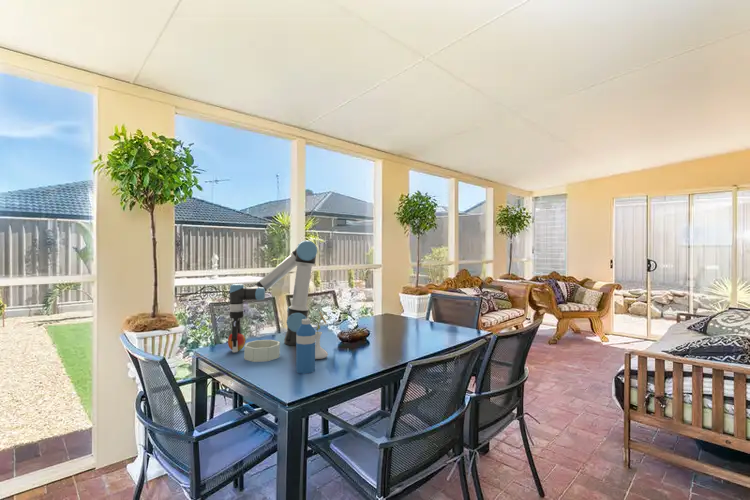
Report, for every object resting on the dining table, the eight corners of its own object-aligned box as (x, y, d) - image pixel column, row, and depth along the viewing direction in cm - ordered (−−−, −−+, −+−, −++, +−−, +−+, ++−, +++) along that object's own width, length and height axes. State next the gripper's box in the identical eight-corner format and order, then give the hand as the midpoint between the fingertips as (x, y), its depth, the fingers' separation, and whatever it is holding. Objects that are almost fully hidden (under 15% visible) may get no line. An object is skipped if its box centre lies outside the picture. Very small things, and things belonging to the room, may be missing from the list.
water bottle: (313, 373, 180) (313, 321, 180) (293, 373, 181) (294, 321, 180) (316, 367, 190) (317, 318, 190) (298, 367, 190) (298, 317, 190)
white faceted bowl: (280, 351, 218) (280, 339, 218) (278, 360, 200) (278, 347, 200) (247, 352, 214) (247, 340, 214) (242, 362, 197) (242, 348, 197)
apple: (237, 353, 212) (237, 335, 212) (223, 351, 215) (223, 334, 215) (248, 349, 221) (248, 332, 221) (235, 347, 224) (235, 330, 224)
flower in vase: (323, 361, 200) (324, 314, 199) (303, 360, 202) (304, 313, 202) (331, 354, 212) (332, 310, 212) (312, 353, 215) (313, 309, 215)
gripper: (233, 307, 228) (233, 345, 228) (226, 314, 206) (225, 355, 207) (246, 307, 229) (246, 344, 229) (240, 314, 208) (240, 354, 208)
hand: (236, 349), depth 218 cm, fingers closed on apple, 9 cm apart
